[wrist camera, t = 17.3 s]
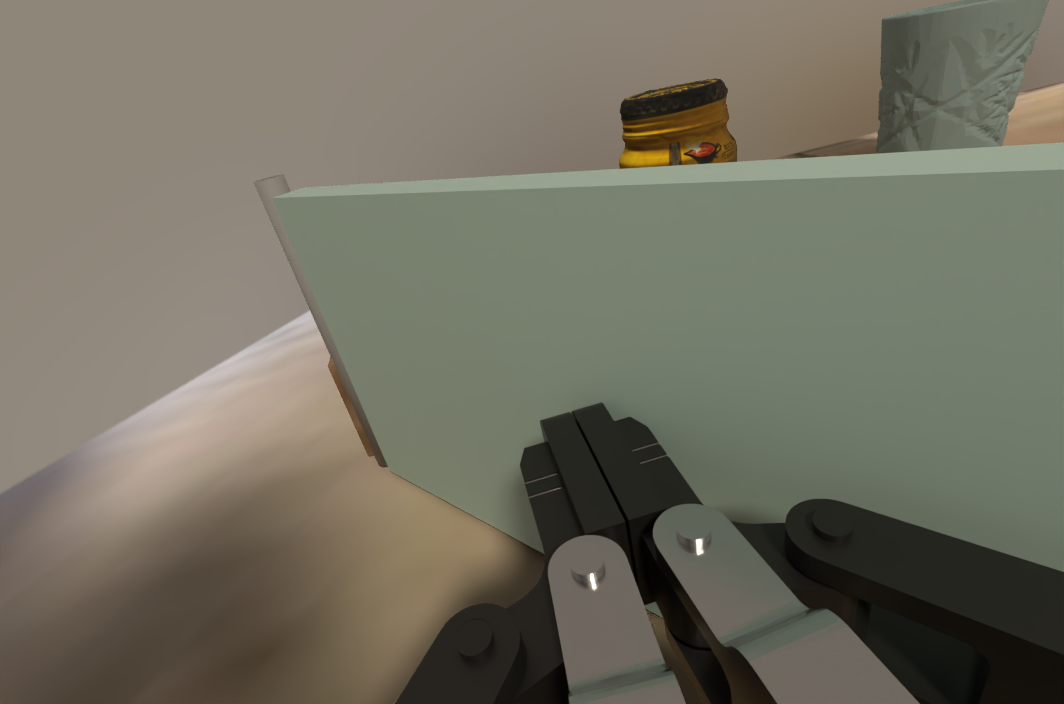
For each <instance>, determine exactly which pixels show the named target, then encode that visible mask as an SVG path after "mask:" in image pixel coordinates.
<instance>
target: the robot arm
mask: <svg viewBox="0 0 1064 704" xmlns="http://www.w3.org/2000/svg"><path fill="white" fill-rule="evenodd" d="M540 426H541V430H542V434H543V438H544V442H543V443H540V444H536V445H533V446H529V447H526V448H524V451H523V455H522V458H521V462H520V468H521V472H522V476H523V479H524V483H525V487H526V490H527V494H528V497H529V501H530V505H531V508H532V512H533V515H534V519H535V522H536V526H537V529H538V533H539V536H540V540H541V543H542V547H543V550H544V554H545V557H546V563H545V569H544V572H543V575H542V577H541V579H540V580H539V582H538V584H537V585H536V586H535V588H534V589H533V590H532V591H531V592H530V593H529V594H528V595H526V596H525V597H524V598H523V599H521V600H520V601H518V602H517V603H515V604H514V605H512V606H511V607H509V608H508V609H507V610H506V609H504V608H502V607H500V606H498V605H494V604H477V605H474V606H470V607H468V608H466V609H463V610H462V611H460V612H459V613H457V614H456V615H454V616H453V617H452V618H451V619H450V620H449V621H448V622H447V623H446V624H445V626H444V627H443V628H442V630H441V631H440V633H439V634H438V636H437V638H436V639H435V641H434V642H433V644H432V646H431V647H430V649H429V650H428V652H427V654H426V655H425V657H424V658H423V660H422V662H421V663H420V665H419V666H418V668H417V670H416V671H415V673H414V674H413V676H412V678H411V679H410V681H409V682H408V684H407V686H406V687H405V689H404V690H403V692H402V694H401V695H400V697H399V698H398V700H397V702H396V703H395V704H686V702H685V700H684V697H683V694H682V692H681V689H680V687H679V684H678V682H677V679H676V677H675V675H674V673H673V671H672V669H671V668H670V667H667V665H666V663H665V661H664V659H663V656H662V653H661V651H660V648H659V645H658V642H657V640H656V637H655V634H654V631H653V628H652V626H651V623H650V620H649V617H648V615H647V612H646V609H645V606H644V605H647V604H650V603H653V602H656V604H657V606H658V608H659V610H660V612H661V614H662V616H663V618H664V624H665V632H666V636H667V639H668V642H669V644H670V646H671V647H672V649H673V651H674V653H675V655H676V656H677V658H678V660H679V662H680V663H681V665H682V667H683V669H684V671H685V672H686V674H687V676H688V678H689V680H690V681H691V683H692V685H693V687H694V689H695V690H696V692H697V694H698V696H699V697H700V699H701V701H702V703H703V704H1064V572H1062V571H1059V570H1056V569H1053V568H1050V567H1047V566H1043V565H1040V564H1037V563H1034V562H1031V561H1028V560H1024V559H1021V558H1018V557H1015V556H1012V555H1009V554H1005V553H1002V552H999V551H996V550H993V549H990V548H987V547H983V546H980V545H977V544H974V543H971V542H968V541H964V540H961V539H958V538H955V537H952V536H949V535H945V534H942V533H939V532H936V531H933V530H930V529H927V528H923V527H920V526H917V525H914V524H911V523H908V522H904V521H901V520H898V519H895V518H892V517H889V516H885V515H882V514H879V513H876V512H873V511H870V510H866V509H863V508H860V507H857V506H854V505H851V504H848V503H844V502H841V501H837V500H832V499H820V498H819V499H810V500H805V501H803V502H800V503H798V504H796V505H795V506H793V507H792V508H791V509H790V511H789V512H788V514H787V516H786V520H785V523H760V524H746V523H738V522H734V521H730V520H729V519H728V518H727V517H726V516H725V515H723V514H722V513H721V512H719V511H717V510H715V509H713V508H711V507H708V506H705V505H703V504H702V502H701V501H700V500H699V498H698V497H697V496H696V494H695V493H694V491H693V490H692V489H691V487H690V486H689V484H688V483H687V481H686V480H685V479H684V477H683V476H682V474H681V473H680V472H679V470H678V469H677V467H676V466H675V465H674V463H673V462H672V460H671V459H670V457H668V456H667V453H666V452H665V450H664V449H663V448H662V446H661V445H660V444H659V443H658V441H657V439H656V438H655V436H654V435H653V434H652V432H651V431H650V429H649V428H648V427H647V426H646V425H644V424H642V423H640V422H639V421H637V420H635V419H633V418H632V417H627V418H624V419H620V420H617V421H614V420H613V418H612V417H611V415H610V414H609V412H608V410H607V409H606V407H605V405H604V404H603V403H602V402H601V403H597V404H594V405H590V406H587V407H583V408H580V409H577V410H573V411H572V412H571V413H570V412H567V413H563V414H560V415H556V416H553V417H550V418H546V419H543V420H540Z"/></svg>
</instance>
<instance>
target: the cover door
mask: <svg viewBox="0 0 1064 704" xmlns="http://www.w3.org/2000/svg"><path fill="white" fill-rule="evenodd" d="M254 184H255V186H256V188H257V191H258V193H259V195H260V198H261V200H262V202H263V204H264V207H265V209H266V211H267V213H268V216H269V218H270V220H271V223H272V225H273V227H274V229H275V232H276V234H277V236H278V238H279V241H280V243H281V245H282V247H283V250H284V252H285V254H286V256H287V259H288V261H289V263H290V265H291V268H292V270H293V272H294V274H295V277H296V279H297V281H298V284H299V286H300V288H301V290H302V293H303V295H304V297H305V299H306V302H307V304H308V306H309V308H310V311H311V313H312V315H313V317H314V320H315V322H316V324H317V327H318V329H319V331H320V333H321V336H322V338H323V340H324V342H325V345H326V347H327V349H328V351H329V354H330V356H331V358H332V360H333V363H334V365H335V367H336V370H337V372H338V374H339V376H340V379H341V381H342V383H343V385H344V388H345V390H346V392H347V394H348V397H349V399H350V401H351V403H352V406H353V408H354V410H355V412H356V415H357V417H358V419H359V422H360V424H361V426H362V428H363V431H364V433H365V435H366V437H367V440H368V442H369V444H370V446H371V449H372V451H373V453H374V455H375V458H376V460H377V462H378V464H379V466H381V467H387V466H388V468H389V470H390V471H391V472H393V473H394V474H396V475H398V476H400V477H402V478H404V479H406V480H407V481H409V482H411V483H413V484H415V485H417V486H419V487H420V488H422V489H424V490H426V491H428V492H430V493H432V494H433V495H435V496H437V497H439V498H441V499H443V500H445V501H446V502H448V503H450V504H452V505H454V506H456V507H458V508H459V509H461V510H463V511H465V512H467V513H469V514H471V515H472V516H474V517H476V518H478V519H480V520H482V521H484V522H485V523H487V524H489V525H491V526H493V527H495V528H497V529H498V530H500V531H502V532H504V533H506V534H508V535H510V536H511V537H513V538H515V539H517V540H519V541H521V542H523V543H524V544H526V545H528V546H530V547H532V548H534V549H536V550H537V551H539V552H541V553H543V554H544V550H543V547H542V543H541V540H540V536H539V533H538V529H537V526H536V522H535V519H534V515H533V512H532V508H531V505H530V501H529V497H528V494H527V490H526V487H525V483H524V479H523V476H522V472H521V468H520V462H521V458H522V455H523V451H524V448H526V447H529V446H533V445H536V444H540V443H543V442H544V438H543V434H542V430H541V426H540V420H543V419H546V418H550V417H553V416H556V415H560V414H563V413H567V412H570V413H571V412H572V411H573V410H577V409H580V408H583V407H587V406H590V405H594V404H597V403H601V402H602V403H603V404H604V405H605V407H606V409H607V410H608V412H609V414H610V415H611V417H612V418H613V420H614V421H617V420H620V419H624V418H627V417H632V418H633V419H635V420H637V421H639V422H640V423H642V424H644V425H646V426H647V427H648V428H649V429H650V431H651V432H652V434H653V435H654V436H655V438H656V439H657V441H658V443H659V444H660V445H661V446H662V448H663V449H664V450H665V452H666V453H667V456H668V457H670V459H671V460H672V462H673V463H674V465H675V466H676V467H677V469H678V470H679V472H680V473H681V474H682V476H683V477H684V479H685V480H686V481H687V483H688V484H689V486H690V487H691V489H692V490H693V491H694V493H695V494H696V496H697V497H698V498H699V500H700V501H701V502H702V504H703V505H705V506H708V507H711V508H713V509H715V510H717V511H719V512H721V513H722V514H723V515H725V516H726V517H727V518H728V519H729V520H730V521H734V522H738V523H746V524H760V523H785V520H786V516H787V514H788V512H789V511H790V509H791V508H792V507H793V506H795V505H796V504H798V503H800V502H803V501H805V500H810V499H819V498H820V499H832V500H837V501H841V502H844V503H848V504H851V505H854V506H857V507H860V508H863V509H866V510H870V511H873V512H876V513H879V514H882V515H885V516H889V517H892V518H895V519H898V520H901V521H904V522H908V523H911V524H914V525H917V526H920V527H923V528H927V529H930V530H933V531H936V532H939V533H942V534H945V535H949V536H952V537H955V538H958V539H961V540H964V541H968V542H971V543H974V544H977V545H980V546H983V547H987V548H990V549H993V550H996V551H999V552H1002V553H1005V554H1009V555H1012V556H1015V557H1018V558H1021V559H1024V560H1028V561H1031V562H1034V563H1037V564H1040V565H1043V566H1047V567H1050V568H1053V569H1056V570H1059V571H1062V572H1064V143H1048V144H1031V145H1014V146H997V147H981V148H964V149H947V150H930V151H913V152H896V153H879V154H862V155H846V156H829V157H812V158H795V159H778V160H761V161H745V162H727V163H711V164H694V165H677V166H660V167H643V168H626V169H609V170H593V171H576V172H559V173H542V174H525V175H508V176H491V177H476V178H475V177H474V178H458V179H441V180H424V181H408V182H390V183H375V184H374V183H373V184H357V185H340V186H323V187H307V188H302V189H298V190H295V191H292V192H290V189H289V187H288V184H287V182H286V179H285V177H284V175H278V176H274V177H270V178H266V179H262V180H259V181H256V182H254ZM644 606H645V609H647V610H649V611H651V612H652V613H654V614H656V615H658V616H660V617H662V618H663V616H662V614H661V612H660V610H659V608H658V606H657V604H656V602H653V603H650V604H647V605H644Z"/></svg>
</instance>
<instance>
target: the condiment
mask: <svg viewBox="0 0 1064 704" xmlns="http://www.w3.org/2000/svg"><path fill="white" fill-rule="evenodd" d="M727 92H728V89H727V88H726V86H725V84H724V82H723V81H722V80H721V79H711V80H703V81H696V82H690V83H685V84H680V85H674V86H670V87H665V88H660V89H656V90H649V91H646V92H644V93H640V94H637V95H633V96H630V97H628V98H625V99H624V101H623V102H622V104H621V109H620V113H621V120H622V122H623V130H624V131H623V135H622V138H623V141H624V142H625V148H624V151H623V154H622V155H621V157H620V160H619V165H620V169H626V168H643V167H660V166H677V165H694V164H711V163H727V162H737V145H736V141H735V139H734V138H733V137H732V135H731V134H730V133H729V131H728V130H727V126H726V124H727V121H728V119H729V114H728V109H727V105H726V96H727Z"/></svg>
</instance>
